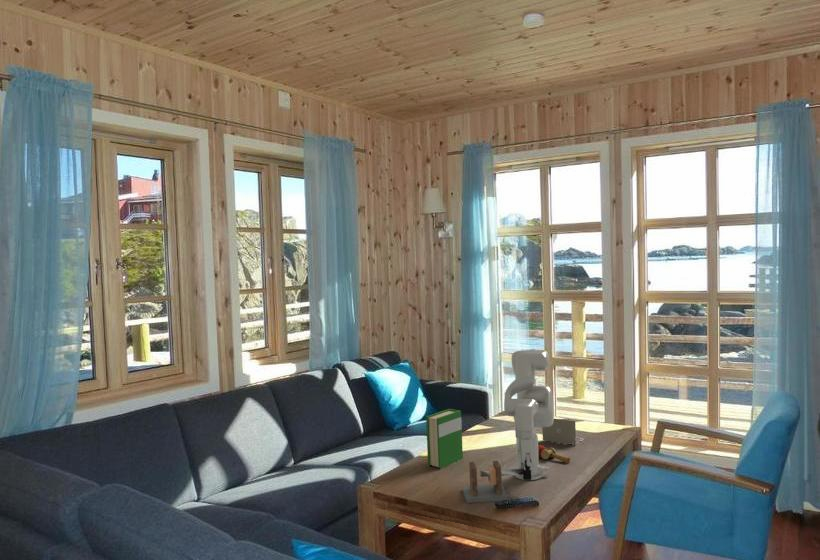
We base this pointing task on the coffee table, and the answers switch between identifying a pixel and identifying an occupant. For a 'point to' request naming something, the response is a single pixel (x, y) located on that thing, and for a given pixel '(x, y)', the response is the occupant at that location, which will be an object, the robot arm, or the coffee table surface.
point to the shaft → (506, 472)
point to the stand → (474, 478)
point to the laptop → (561, 432)
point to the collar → (492, 475)
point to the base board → (484, 494)
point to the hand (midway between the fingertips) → (526, 476)
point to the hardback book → (444, 438)
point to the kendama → (551, 454)
